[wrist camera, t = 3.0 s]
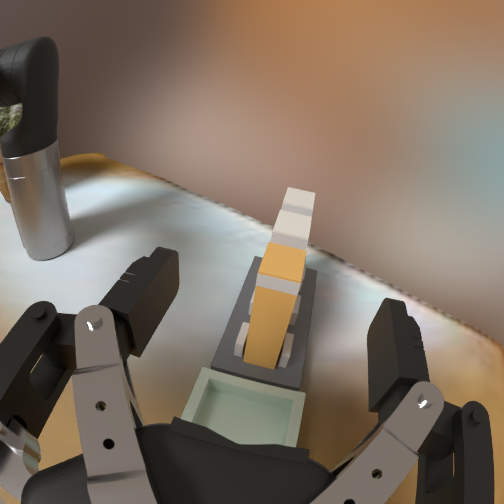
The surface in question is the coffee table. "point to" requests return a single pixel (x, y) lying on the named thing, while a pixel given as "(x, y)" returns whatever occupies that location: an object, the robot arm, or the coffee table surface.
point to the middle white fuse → (291, 230)
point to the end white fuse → (298, 202)
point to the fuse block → (293, 344)
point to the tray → (245, 409)
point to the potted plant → (3, 122)
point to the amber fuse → (273, 303)
